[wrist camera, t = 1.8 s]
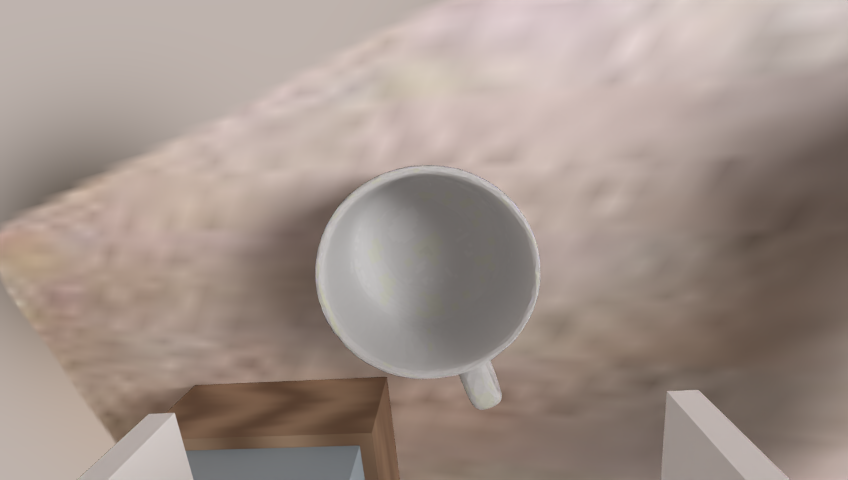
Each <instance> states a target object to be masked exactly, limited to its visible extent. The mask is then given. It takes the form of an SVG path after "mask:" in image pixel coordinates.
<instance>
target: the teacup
mask: <svg viewBox="0 0 848 480" xmlns="http://www.w3.org/2000/svg"><path fill="white" fill-rule="evenodd" d="M315 281H316V289H317V295H318V299H319V303H320V305H321V308H322V311H323V313H324V316H325V318H326V320H327V323H328V324H329V325H330V326H331V328H332V330H333V332H334V333H335V334H336V335H337V336H338V337H339V339H340V340H341V341H342V342H343V343H344V345H345V346H346V348H348V349H349V350H350V351H351V352H352V353H354V354H355V355H356V356H357V357H358V358H360V359H361V360H363V361H364V362H365V363H367V364H369V365H371V366H373V367H375V368H377V369H379V370H382V371H384V372H387V373H389V374H393V375H396V376H399V377H406V378H410V379H434V378H444V377H449V376H455V375H459V376H460V379H461V381H462V383H463V386H464V389H465V391H466V393H467V395H468V397H469V399H470V401H471V403H472V404H473V405H474V407H475V408H477V409H479V410H485V409H489V408H491V407H494V406H496V405H497V404H498V403H499V402H500V401H501V397H502V394H501V390H500V386H499V383H498V379H497V376H496V374H495V371H494V368H493V366H492V363H491V360H492V359H493V358H495V357H496V356H497V355H498V354H499V353H501V352H502V351H503V350H504V349H506V348H507V347H508V346H509V345H510V344H511V343H512V342H513V341H514V340H515V339H516V338H517V336H518V335H519V334H520V333H521V331H522V330H523V329H524V327H525V325H526V323H527V322H528V320H529V318H530V316H531V314H532V312H533V309H534V307H535V304H536V301H537V297H538V293H539V287H540V257H539V252H538V247H537V243H536V240H535V237H534V234H533V232H532V230H531V228H530V226H529V224H528V222H527V220H526V219H525V217H524V216H523V214H522V213H521V211H520V210H519V209H518V207H517V206H516V205H515V203H514V202H513V201H512V200H511V199H510V198H509V197H508V196H507V195H506V194H505V193H503V192H502V191H501V190H500V189H498V188H497V187H496V186H494V185H493V184H491V183H490V182H488V181H487V180H485V179H483V178H480V177H478V176H476V175H474V174H472V173H469V172H466V171H463V170H461V169H457V168H451V167H445V166H435V165H424V166H410V167H405V168H400V169H396V170H393V171H389V172H387V173H385V174H382V175H379V176H377V177H375V178H373V179H371V180H369V181H368V182H366V183H364V184H363V185H361V186H360V187H358V188H357V189H356V190H354V191H353V192H352V193H351V194H349V195H348V196H347V198H346V199H345V200H344V201H343V202H342V203H341V204H340V205H339V206H338V208H337V209H336V211H335V212H334V213H333V215H332V217H331V218H330V220H329V222H328V224H327V226H326V227H325V230H324V233H323V234H322V237H321V242H320V244H319V247H318V251H317V256H316V265H315Z"/></svg>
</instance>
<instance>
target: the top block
mask: <svg viewBox="0 0 848 480" xmlns="http://www.w3.org/2000/svg"><path fill="white" fill-rule="evenodd" d="M186 455H187V458H188V462H189V465H190V469H191V473H192V476H193V480H365V477H364V471H363V464H362V458H361V451H360V446H327V447H293V448H260V449H226V450H192V451H186Z"/></svg>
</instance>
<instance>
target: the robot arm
mask: <svg viewBox="0 0 848 480" xmlns="http://www.w3.org/2000/svg"><path fill="white" fill-rule="evenodd" d="M77 480H193V476H192V473H191V469H190V465H189V462H188V458H187V455H186V451H185V448H184V444H183V441H182V437H181V434H180V430H179V426H178V423H177V419H176V416H175V413H158V414H148V415H147V416H146V417H145V418H144V419H143V420H141V421H140V422H139V423H138V424H137V425H136V426H135V427H134V428H133V429H132V430H130V431H129V432H128V433H127V434H126V435H125V436H124V437H123V438H122V439H121V440H120V441H118V442H117V443H116V444H115V445H114V446H113V447H112V448H111V449H110V450H109V451H108V452H106V453H105V454H104V455H103V456H102V457H101V458H100V459H99V460H98V461H97V462H96V463H94V464H93V465H92V466H91V467H90V468H89V469H88V470H87V471H86V472H85V473H84V474H83V475H81V476H80V477H79V478H78V479H77ZM661 480H790V479H789V478H788V477H787V476H786V475H785V474H784V473H783V472H782V471H781V470H780V469H779V468H778V467H777V466H776V465H775V464H774V463H773V462H772V461H771V460H770V459H769V458H768V457H767V456H766V455H765V454H764V453H763V452H762V451H760V450H759V449H758V448H757V447H756V446H755V445H754V444H753V443H752V442H751V441H750V440H749V439H748V438H747V437H746V436H745V435H744V434H743V433H742V432H741V431H740V430H739V429H738V428H737V427H736V426H735V425H734V424H733V423H732V422H731V421H730V420H729V419H728V418H727V417H726V416H725V415H724V414H723V413H722V412H721V411H720V410H719V409H718V408H717V407H716V406H715V405H713V404H712V403H711V402H710V401H709V400H708V399H707V398H706V397H705V396H704V395H703V394H702V393H701V392H700V391H699V390H683V391H667V395H666V410H665V425H664V440H663V454H662V469H661Z"/></svg>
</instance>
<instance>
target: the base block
mask: <svg viewBox="0 0 848 480" xmlns="http://www.w3.org/2000/svg"><path fill="white" fill-rule="evenodd" d="M167 413H175V416H176V419H177V423H178V426H179V430H180V434H181V437H182V441H183V444H184V448H185V451H192V450H226V449H260V448H293V447H327V446H360V451H361V458H362V464H363V471H364V477H365V480H400V478H399V470H398V462H397V454H396V446H395V438H394V430H393V423H392V415H391V407H390V399H389V391H388V383H387V377H374V378H351V379H328V380H305V381H282V382H259V383H236V384H213V385H195V386H194V387H193V388H192V389H191V390H190V391H189V392H188V393H187V394H186V395H185V396H184V397H182V398H181V399H180V400H179V401H178V402H177V403H176V404H175V405H174V406H173V407H172V408H171V409H170V410H169V411H168V412H167Z"/></svg>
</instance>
